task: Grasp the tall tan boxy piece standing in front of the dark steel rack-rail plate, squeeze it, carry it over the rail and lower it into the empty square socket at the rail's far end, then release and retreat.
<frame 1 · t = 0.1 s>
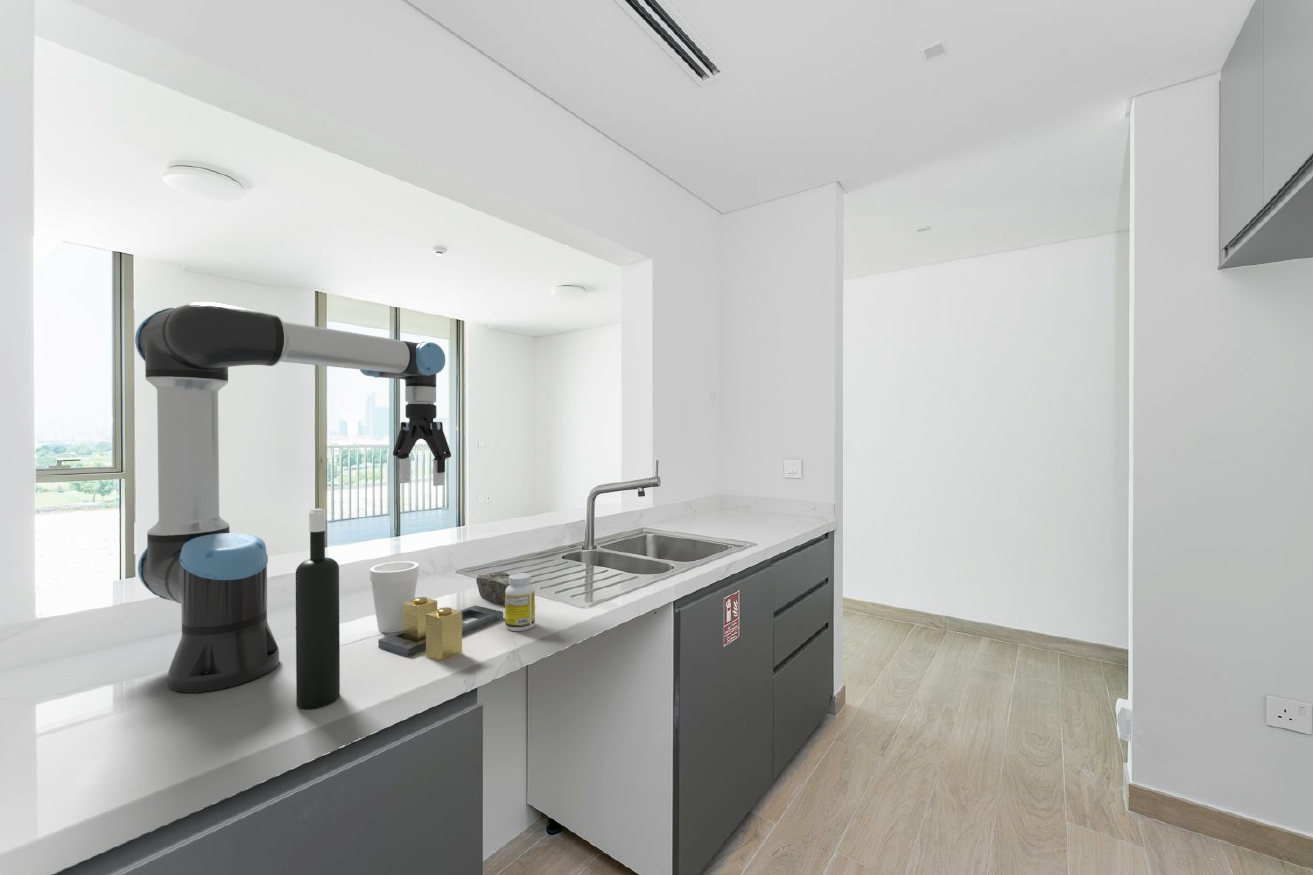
hand: (421, 484, 144), 28 cm above the countertop, fingers open, 13 cm apart
pill bottle: (520, 627, 117), on the countertop
rail: (445, 631, 114), on the countertop
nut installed: (420, 641, 109), resting in rail
wine bottle: (318, 701, 85), on the countertop
stone: (502, 600, 136), on the countertop
foam cup: (394, 627, 117), on the countertop
tan boxy piece: (444, 654, 102), on the countertop
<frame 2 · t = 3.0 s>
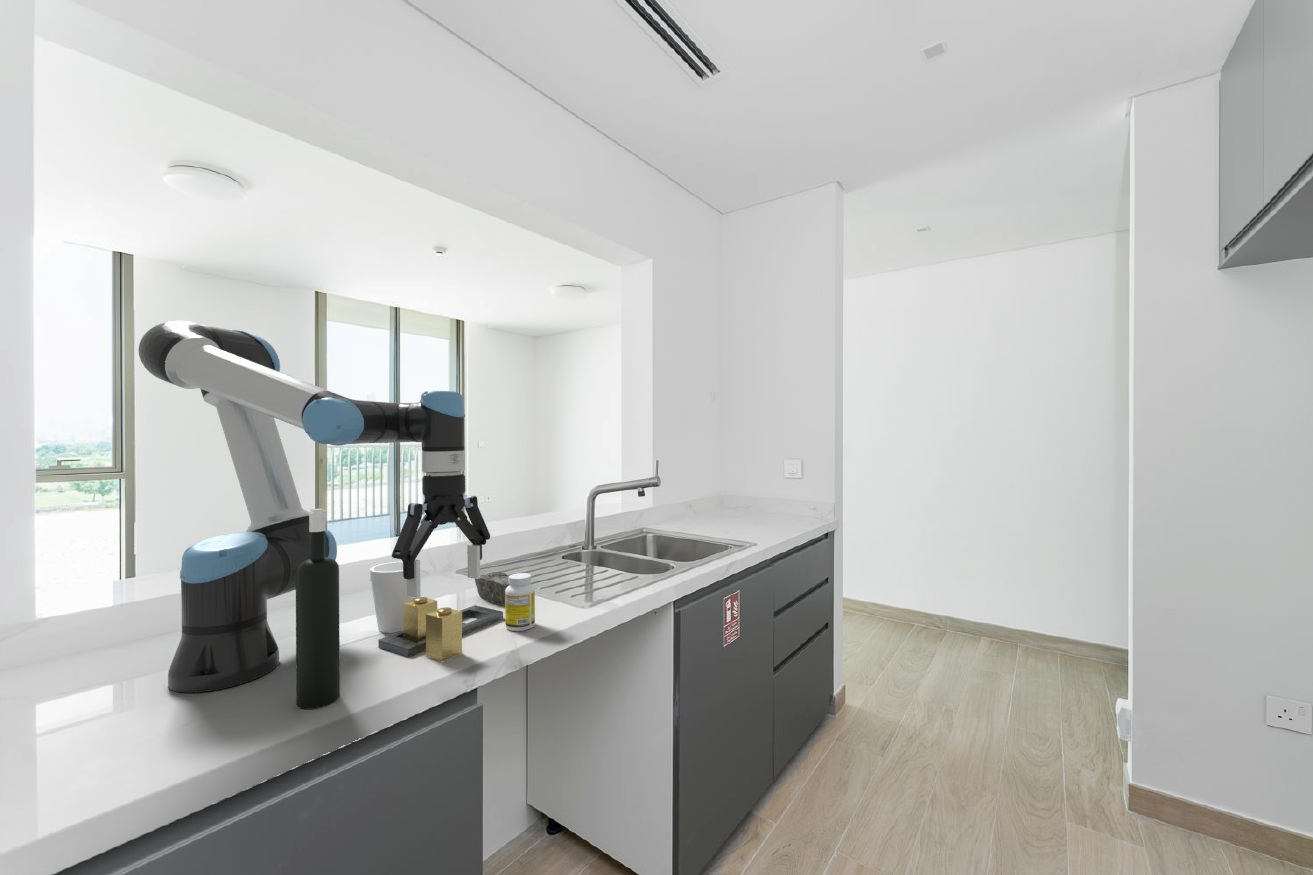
hand: (445, 586, 102), 13 cm above the countertop, fingers open, 13 cm apart
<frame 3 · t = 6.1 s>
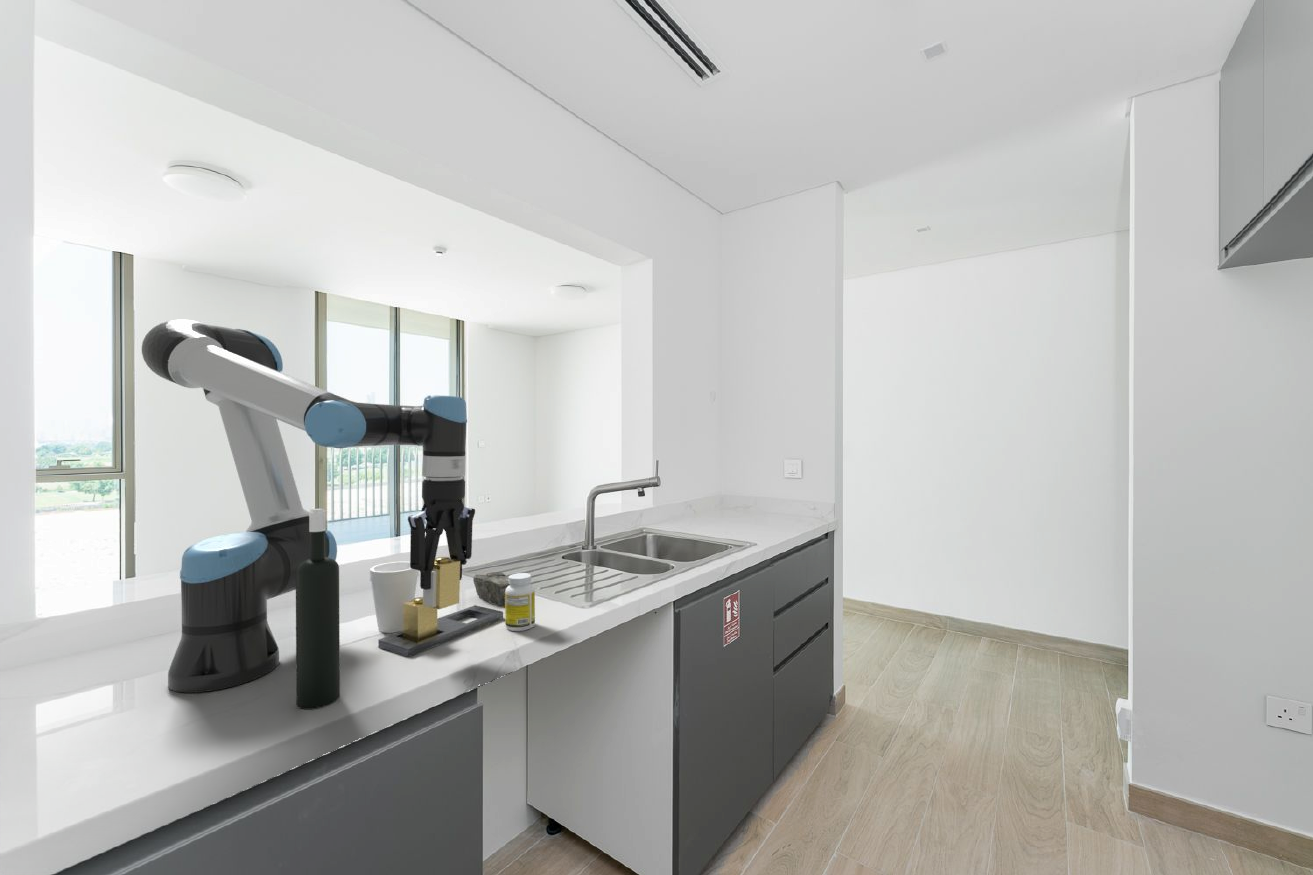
hand: (441, 601, 102), 10 cm above the countertop, fingers closed on tan boxy piece, 4 cm apart
tan boxy piece: (441, 603, 102), point 10 cm above the countertop, touching gripper
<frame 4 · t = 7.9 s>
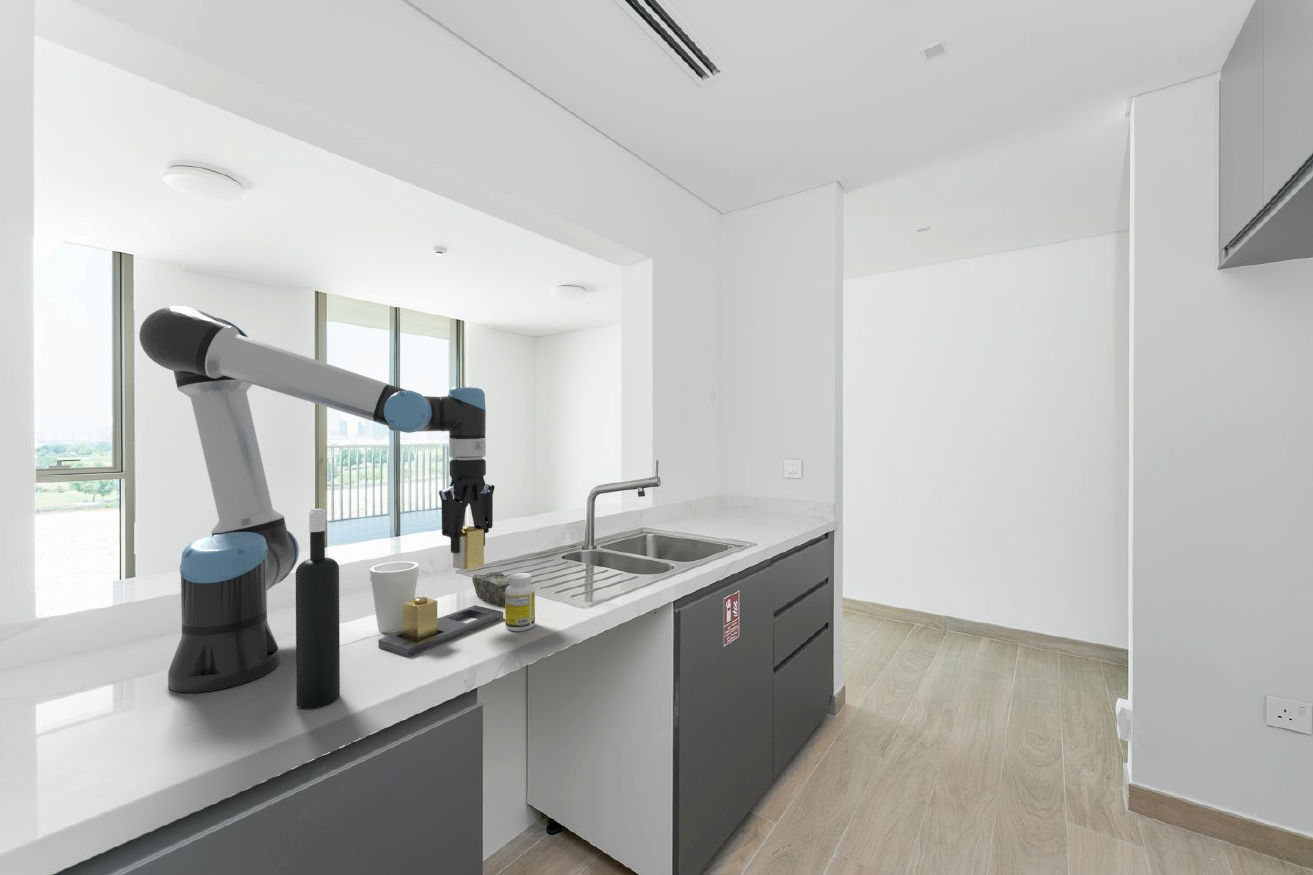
hand: (468, 564, 119), 13 cm above the countertop, fingers closed on tan boxy piece, 4 cm apart
tan boxy piece: (468, 566, 119), point 12 cm above the countertop, touching gripper
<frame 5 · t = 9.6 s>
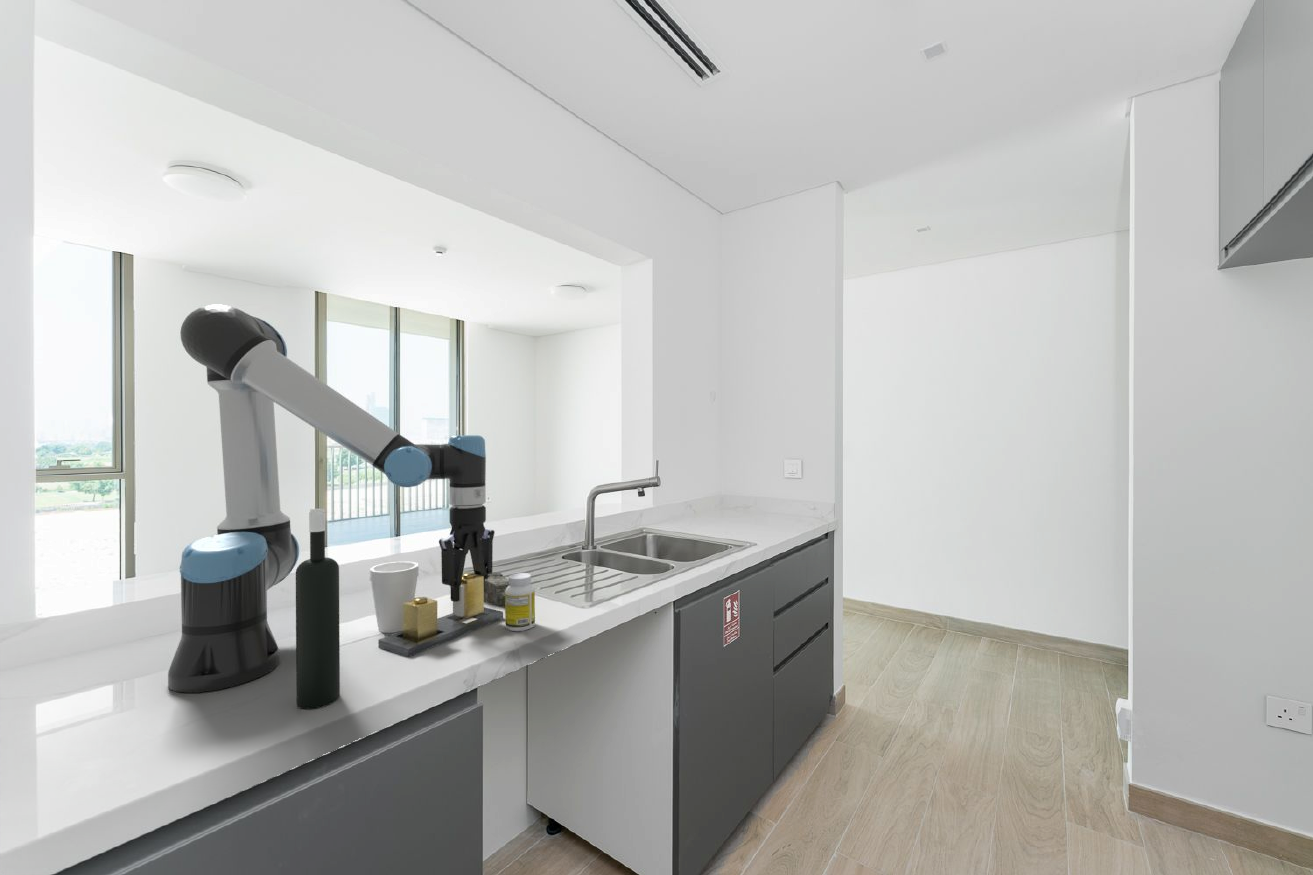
hand: (468, 611, 119), 3 cm above the countertop, fingers closed on tan boxy piece, 4 cm apart
tan boxy piece: (468, 613, 119), point 2 cm above the countertop, touching gripper
when the fingers open (2 cm above the countertop, at t = 10.3 s): tan boxy piece drops 2 cm, resting in rail.
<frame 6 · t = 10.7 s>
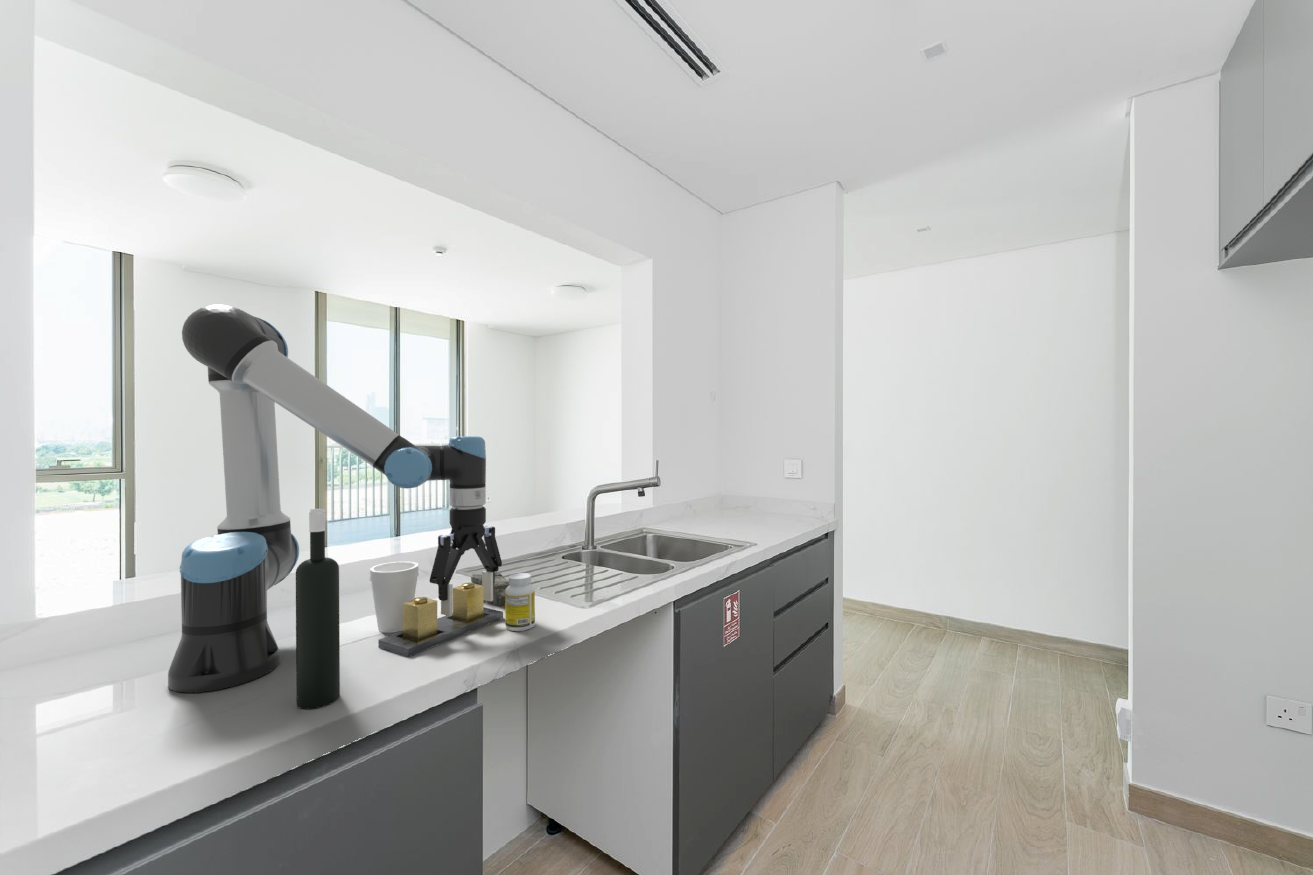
hand: (468, 607, 119), 3 cm above the countertop, fingers open, 10 cm apart
tan boxy piece: (468, 623, 119), resting in rail
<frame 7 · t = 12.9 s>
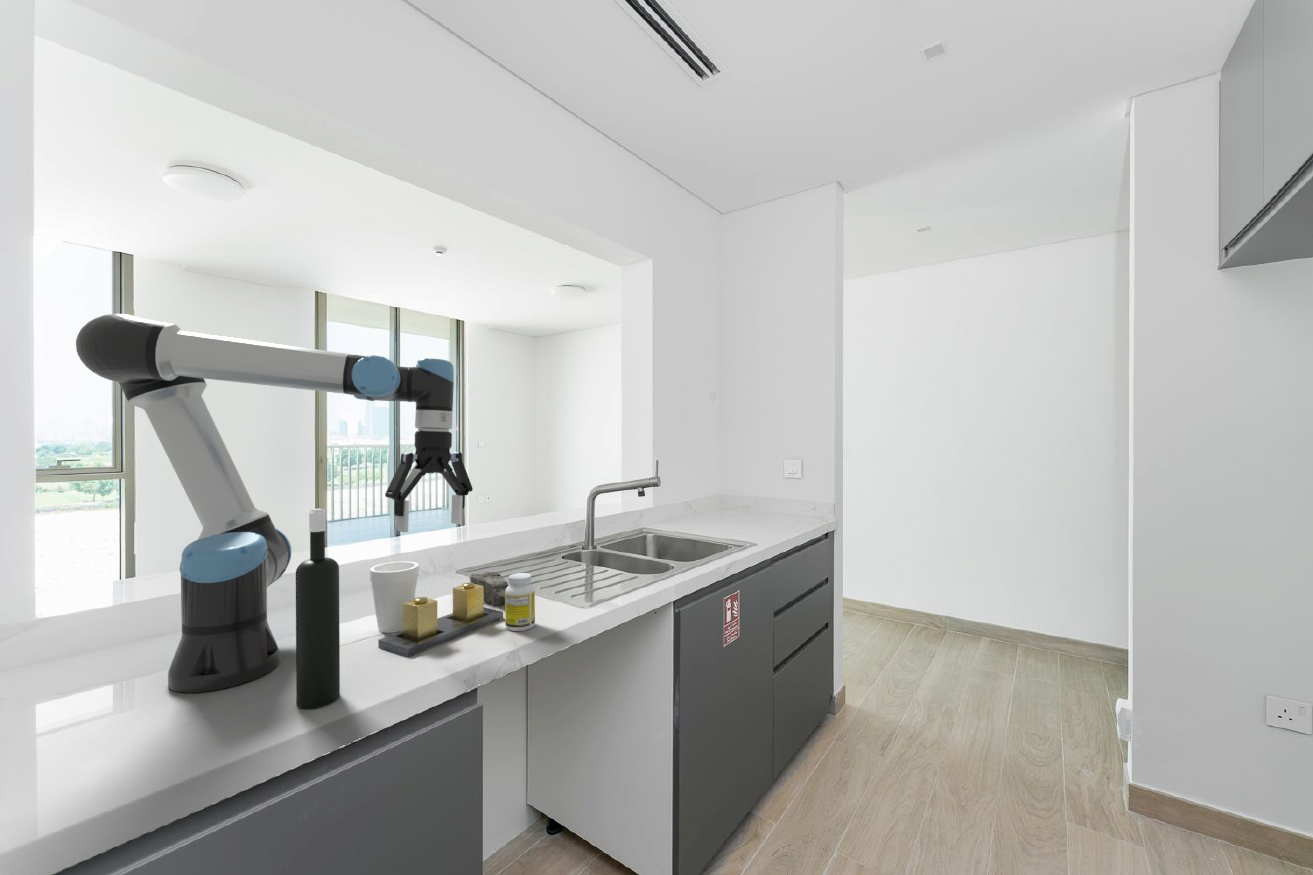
hand: (430, 527, 119), 21 cm above the countertop, fingers open, 13 cm apart
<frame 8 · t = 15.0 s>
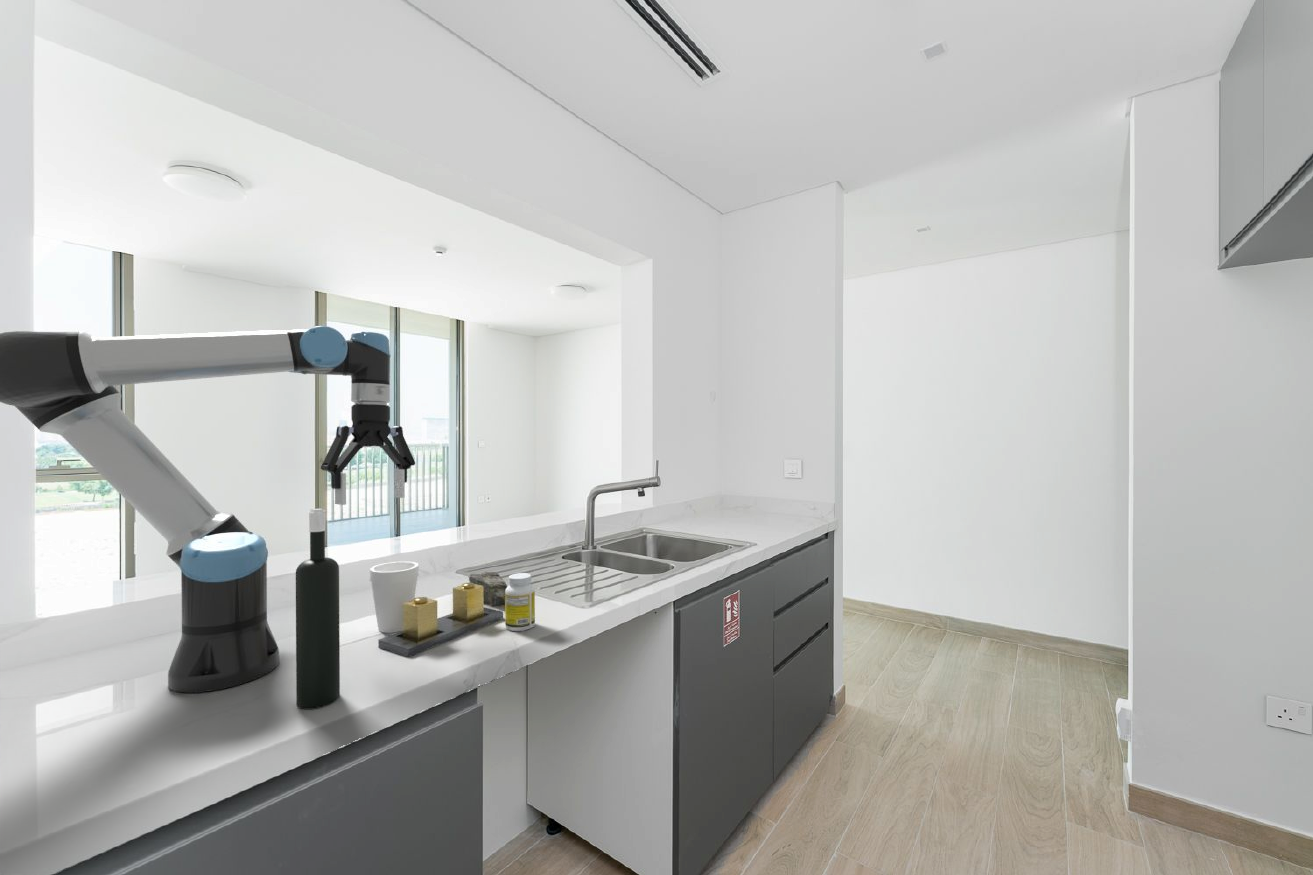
hand: (371, 500, 120), 27 cm above the countertop, fingers open, 13 cm apart
at the end: tan boxy piece 0.1 cm from the target spot on the rail, point 0.0 cm above the rail's base; tan boxy piece tilted 0° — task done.
